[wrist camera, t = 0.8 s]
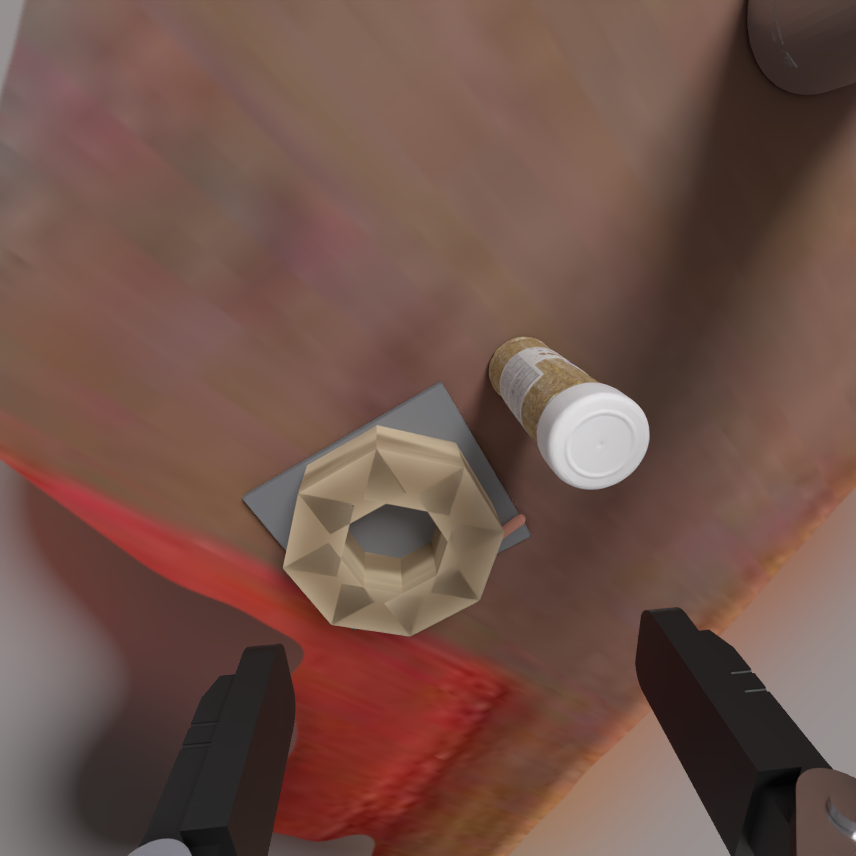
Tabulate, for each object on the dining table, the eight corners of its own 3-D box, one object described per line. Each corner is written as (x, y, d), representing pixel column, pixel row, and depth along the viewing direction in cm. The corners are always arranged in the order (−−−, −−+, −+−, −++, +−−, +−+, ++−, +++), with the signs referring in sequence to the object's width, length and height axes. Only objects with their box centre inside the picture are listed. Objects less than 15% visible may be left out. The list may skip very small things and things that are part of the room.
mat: (440, 381, 33) (442, 383, 33) (529, 531, 38) (531, 535, 38) (244, 494, 35) (242, 498, 35) (353, 624, 40) (352, 630, 40)
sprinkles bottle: (565, 353, 34) (675, 422, 21) (530, 411, 35) (614, 508, 22) (508, 322, 32) (587, 375, 20) (473, 383, 34) (528, 469, 21)
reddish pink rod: (520, 510, 37) (522, 515, 36) (526, 517, 37) (529, 522, 36) (389, 607, 39) (390, 614, 38) (396, 613, 39) (396, 620, 39)
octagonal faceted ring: (427, 395, 33) (433, 415, 29) (515, 541, 38) (530, 574, 34) (259, 492, 35) (244, 523, 31) (364, 621, 39) (362, 661, 36)
